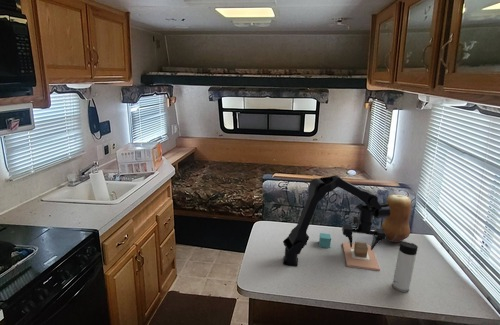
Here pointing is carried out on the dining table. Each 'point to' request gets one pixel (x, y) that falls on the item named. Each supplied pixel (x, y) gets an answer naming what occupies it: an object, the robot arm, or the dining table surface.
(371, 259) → the baseplate
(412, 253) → the travel mug
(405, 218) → the butternut squash
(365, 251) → the walnut block
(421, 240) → the dining table surface
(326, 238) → the teal block
